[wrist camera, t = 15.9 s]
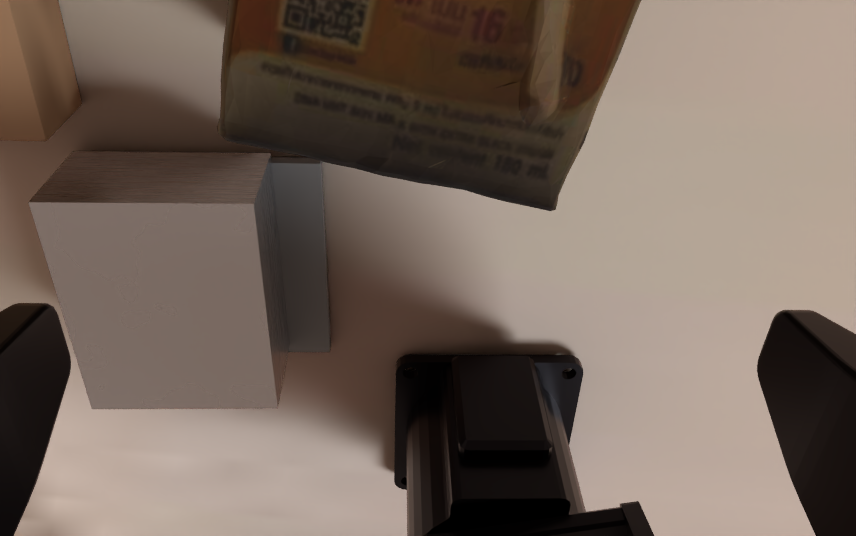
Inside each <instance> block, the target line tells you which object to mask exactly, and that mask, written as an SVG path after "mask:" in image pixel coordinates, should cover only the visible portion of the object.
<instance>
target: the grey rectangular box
mask: <svg viewBox="0 0 856 536" xmlns="http://www.w3.org/2000/svg"><path fill="white" fill-rule="evenodd" d="M28 203H29V206H30V209H31V213H32V216H33V219H34V222H35V226H36V229H37V232H38V235H39V239H40V242H41V245H42V248H43V251H44V255H45V258H46V261H47V264H48V268H49V271H50V274H51V277H52V281H53V284H54V287H55V290H56V294H57V297H58V300H59V303H60V307H61V310H62V313H63V316H64V320H65V323H66V326H67V329H68V333H69V336H70V339H71V342H72V346H73V349H74V352H75V355H76V359H77V362H78V365H79V368H80V371H81V375H82V378H83V381H84V384H85V388H86V391H87V394H88V397H89V401H90V404H91V407H92V409H241V408H278V404H279V399H280V394H281V388H282V383H283V378H284V373H285V368H286V362H287V357H288V352H289V347H290V341H289V331H288V321H287V311H286V301H285V291H284V281H283V271H282V261H281V250H280V240H279V230H278V220H277V210H276V200H275V190H274V180H273V170H272V160H271V153H213V152H113V151H73V152H72V153H71V154H70V155H69V156H68V157H67V159H66V160H65V161H64V162H63V163H62V164H61V165H60V167H59V168H58V169H57V170H56V171H55V172H54V173H53V175H52V176H51V177H50V178H49V179H48V180H47V181H46V183H45V184H44V185H43V186H42V187H41V188H40V190H39V191H38V192H37V193H36V194H35V195H34V196H33V198H32V199H31V200H30V201H29V202H28Z"/></svg>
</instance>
